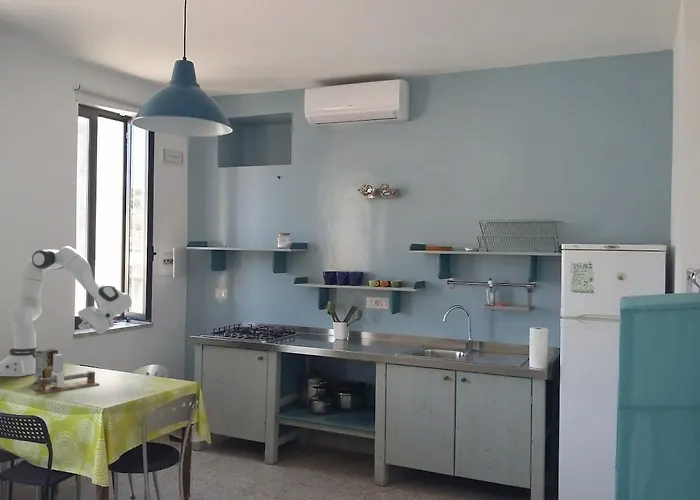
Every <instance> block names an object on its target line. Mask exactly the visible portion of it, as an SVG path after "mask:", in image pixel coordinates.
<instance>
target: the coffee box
mask: <svg viewBox="0 0 700 500" xmlns="http://www.w3.org/2000/svg"><path fill="white" fill-rule="evenodd" d="M58 352H59V351H58V349H54V348H49V349H41V350H37V351H36V361H35V374H34V377H35V379H34V380H35V381H34V382H35V383H38V378H51V377H52V371H53V355H55V354H59V353H58Z"/></svg>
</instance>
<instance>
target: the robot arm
mask: <svg viewBox="0 0 700 500" xmlns="http://www.w3.org/2000/svg"><path fill="white" fill-rule="evenodd" d="M61 269H65V270H66V271H67V272H68V273H69V274H70V276H72V277H73V278H74V279H75V280H77V282H78V283H79V284H80V285H81V286H82V287H83V288H84V290H85V291H86V292H87V293H88V294H89V296H91V298H93V300H94V301H95V303H96V306H97V307H96V306H88V307H85V308H83V309H81V310H79V311H78V312H77V314H78V317H79V318H80V319H81V320H82V321H81V323H80V324H78V328H79V329H80V330H81V331H84V330H86V329H92V330H93V331H94V332H96V333H97V334H98V335H100V334H104V333H106V332H107V331H108V330H110V328H113V327H114V326H115V324H114V320H113V319H115V317H117V316H119V315H122V314H123V313H125V312H126V311H128V310H129V309H130V308H131V307H132V302H133V301H132V298H131V297H130V295H129V293H127V292H122V291H120V290H119V289H117V288H116V287H115V286H113V284H104V285H103V284H102V285H101V286H99V285H98V284H97V283H96V281H95V279H94V276H93V272H92V271H93V270H92V266H91V265H90V263H89V261H88V259H86V257H84V256H83V255H82V254H81V253H80V252H79V251H78V250H76V249H74V248H73V247H71V246H68V245H66V246H63V247H61V248H60V249H52V248H51V249H50V248H49V249H39V250H37V251H35V252H34V253H33V254H32V257H31V258H30V259H28V260H27V261H26V263H25V265H24V268H23V270H22V274H21V280H20V283H19V288H18V292H19V297H20V298H19V300H20V301H19V303H17V304H14V305H13V306H12V307H11V308H10V309H9V310H8V312H7V313H8V314H7V316H8V319H9V321H10V323H11V328H12V332H13V347H11V348H10V349H9V350H8V352H9V355H8V356H7V357H5V358H4V359H2V360H1V361H0V377H23V376H24V377H25V376H31V375H35V361H36V351H38V347H37V332H36V330H35V328H34V323H33V321H36V320H37V319H38V318H40V317H41V315H42V312H43V310H42V305H41V304H42V303H41V300H42V299H41V298H42V297H41V296H42V290H43V286H44V279H45V275H46V272H47V271H53V270H61Z"/></svg>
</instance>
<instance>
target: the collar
mask: <svg viewBox="0 0 700 500" xmlns="http://www.w3.org/2000/svg"><path fill="white" fill-rule="evenodd" d="M55 376H57V382H51V385H52V386H55V387H58V388H59V387H64V384H65V380H64V376H65V372H64V354H62V353H61V354H60V353H58V354H55V355H53V371H52V377H55Z"/></svg>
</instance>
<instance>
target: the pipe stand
mask: <svg viewBox="0 0 700 500" xmlns="http://www.w3.org/2000/svg"><path fill="white" fill-rule="evenodd" d="M85 378H87V379H85ZM75 379H76V380H78V379H85V380H80V381H74V382H67V383H64V387H59V388H58V387H55V386H52V382H57V376H55V377H51V378H38V382H37V387H35V388H32V390H33V391H34V390H35V391H34V392H37V393H40V394H42V393H43V395H46V394H52V393H58V392H60V393H61V392H65V391H72V390H77V389H84V388H91V387H97V386H100V383H99V382H96V381H95V380H96V372H95V371H92V370H89V371H87V372H80V373H73V374H68V375H67V374H66V375H65V374H64V381H70V380H75ZM49 383H51V385H47V386H46V384H49Z"/></svg>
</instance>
